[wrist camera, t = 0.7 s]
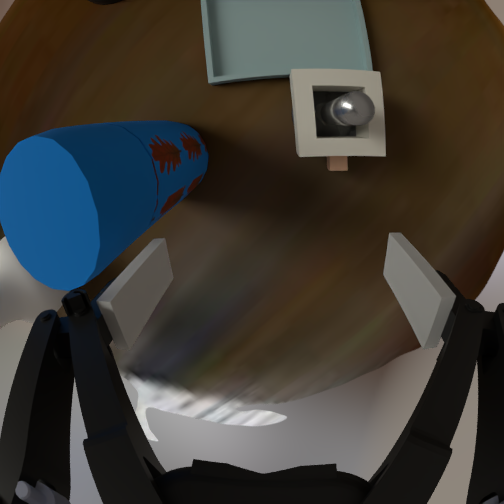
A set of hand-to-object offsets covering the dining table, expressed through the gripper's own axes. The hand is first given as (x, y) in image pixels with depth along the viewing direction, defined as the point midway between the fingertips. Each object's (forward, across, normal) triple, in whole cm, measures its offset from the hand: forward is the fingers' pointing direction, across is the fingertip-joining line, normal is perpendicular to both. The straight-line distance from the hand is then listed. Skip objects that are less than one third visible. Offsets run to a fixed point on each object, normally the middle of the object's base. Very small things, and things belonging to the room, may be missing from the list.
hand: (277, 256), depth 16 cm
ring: (+19, +7, +9) cm, 22 cm away
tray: (+23, +2, +21) cm, 31 cm away
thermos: (+23, -14, +4) cm, 27 cm away
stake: (+23, +7, +9) cm, 25 cm away
